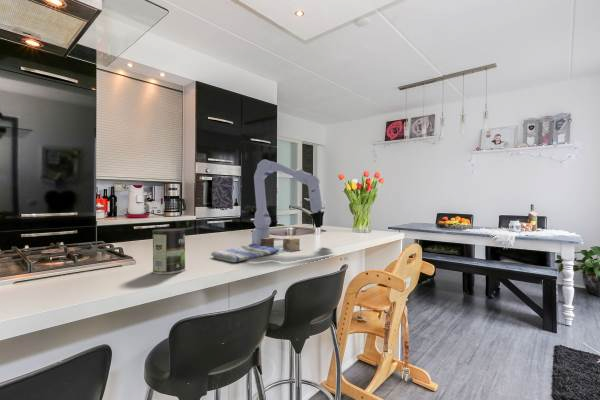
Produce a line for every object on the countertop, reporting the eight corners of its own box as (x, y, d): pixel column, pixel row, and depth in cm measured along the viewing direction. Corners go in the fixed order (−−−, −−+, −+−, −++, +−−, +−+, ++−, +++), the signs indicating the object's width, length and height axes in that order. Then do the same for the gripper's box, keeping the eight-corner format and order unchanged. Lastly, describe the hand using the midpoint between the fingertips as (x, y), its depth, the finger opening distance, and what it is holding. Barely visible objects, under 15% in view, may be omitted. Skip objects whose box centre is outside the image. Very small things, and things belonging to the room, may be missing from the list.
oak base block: (282, 248, 142) (282, 238, 142) (291, 247, 146) (291, 237, 146) (290, 250, 138) (290, 239, 138) (299, 249, 142) (299, 238, 142)
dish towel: (209, 257, 126) (209, 251, 126) (254, 248, 143) (254, 242, 143) (234, 263, 114) (233, 256, 114) (279, 253, 131) (279, 246, 131)
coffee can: (188, 266, 109) (188, 227, 109) (181, 274, 99) (181, 230, 99) (157, 267, 108) (157, 228, 108) (148, 275, 97) (147, 231, 97)
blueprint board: (255, 250, 143) (255, 248, 143) (281, 246, 154) (281, 244, 154) (275, 255, 131) (275, 253, 131) (303, 250, 142) (303, 248, 142)
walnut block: (260, 248, 143) (260, 238, 143) (268, 247, 146) (268, 237, 146) (266, 249, 140) (266, 239, 140) (273, 248, 143) (273, 238, 143)
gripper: (321, 198, 143) (325, 227, 142) (325, 198, 157) (328, 224, 157) (306, 200, 144) (310, 228, 144) (311, 200, 158) (315, 226, 158)
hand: (319, 226), depth 150 cm, fingers open, 7 cm apart
